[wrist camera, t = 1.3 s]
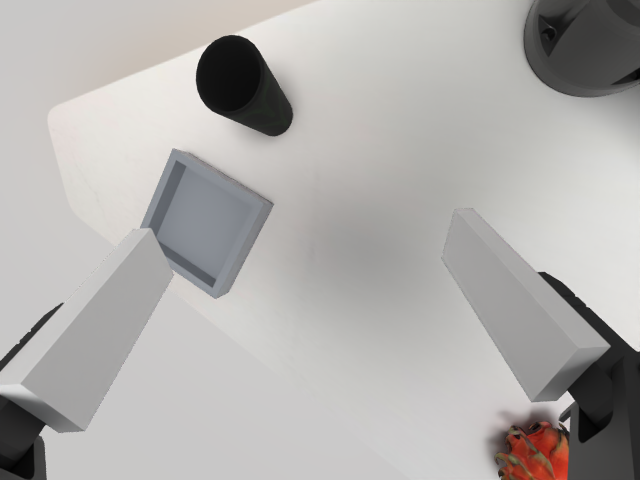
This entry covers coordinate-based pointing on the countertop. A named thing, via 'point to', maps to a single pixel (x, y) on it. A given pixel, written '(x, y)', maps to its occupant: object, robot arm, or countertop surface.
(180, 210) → the box
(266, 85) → the cup
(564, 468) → the dragon fruit
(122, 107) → the countertop surface
